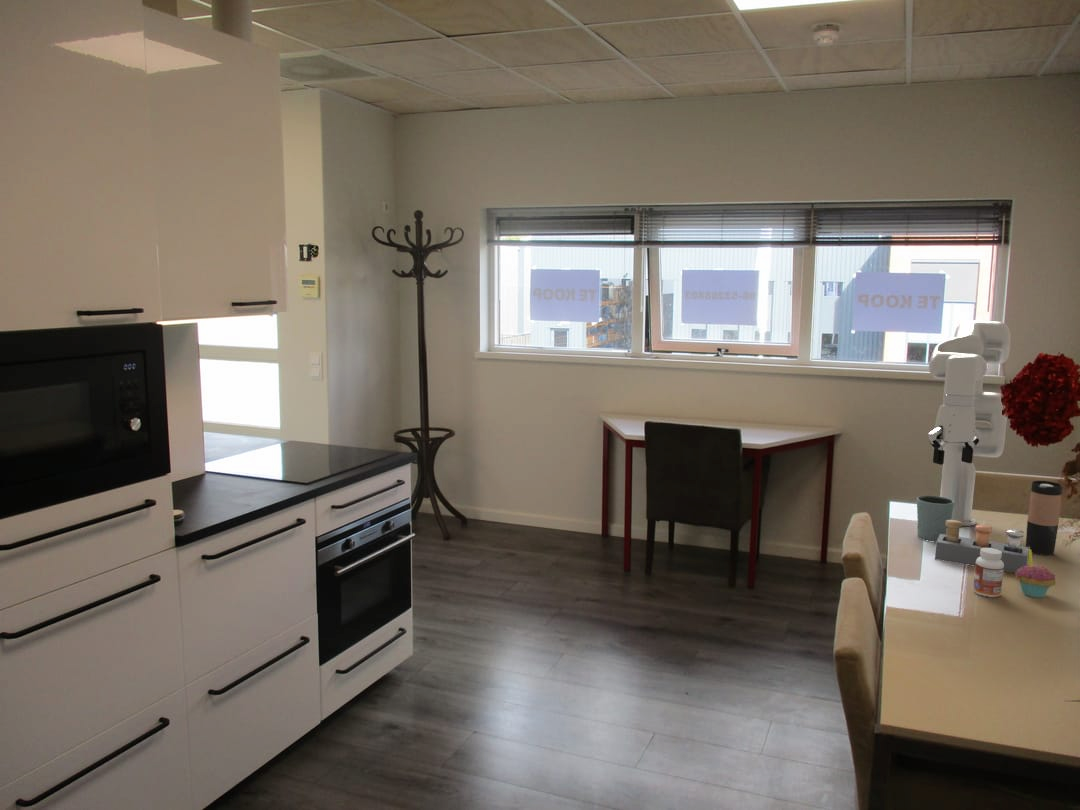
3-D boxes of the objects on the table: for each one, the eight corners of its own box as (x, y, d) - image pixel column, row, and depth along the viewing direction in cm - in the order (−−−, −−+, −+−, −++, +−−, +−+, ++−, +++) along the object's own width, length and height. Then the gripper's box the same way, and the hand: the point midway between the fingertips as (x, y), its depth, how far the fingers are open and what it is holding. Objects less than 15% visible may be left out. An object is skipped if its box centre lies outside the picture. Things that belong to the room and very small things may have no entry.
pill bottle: (972, 587, 213) (977, 545, 211) (1000, 591, 210) (1004, 549, 208) (972, 595, 207) (977, 552, 206) (1001, 599, 204) (1005, 556, 203)
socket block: (938, 550, 241) (939, 533, 240) (1026, 564, 230) (1028, 547, 229) (934, 559, 233) (936, 541, 233) (1025, 574, 222) (1027, 556, 222)
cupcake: (1014, 596, 207) (1019, 549, 205) (1013, 585, 214) (1018, 540, 212) (1054, 603, 203) (1060, 555, 201) (1052, 591, 210) (1057, 545, 209)
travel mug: (1046, 547, 245) (1054, 481, 242) (1060, 556, 238) (1068, 487, 235) (1019, 546, 246) (1026, 480, 243) (1031, 554, 239) (1039, 486, 236)
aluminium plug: (1004, 549, 230) (1006, 528, 229) (1021, 551, 228) (1023, 530, 227) (1004, 553, 227) (1006, 531, 226) (1021, 555, 225) (1023, 534, 224)
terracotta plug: (974, 544, 234) (976, 523, 233) (990, 546, 232) (992, 525, 231) (973, 548, 230) (975, 526, 229) (989, 550, 228) (991, 529, 227)
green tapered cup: (956, 543, 248) (960, 504, 246) (922, 542, 248) (925, 503, 246) (941, 533, 258) (944, 495, 256) (908, 532, 258) (911, 494, 256)
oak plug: (944, 539, 238) (946, 519, 237) (960, 542, 236) (962, 521, 235) (943, 543, 234) (945, 522, 233) (958, 545, 232) (961, 524, 231)
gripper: (972, 398, 233) (966, 459, 235) (922, 399, 228) (916, 461, 230) (994, 402, 226) (988, 464, 228) (943, 403, 221) (937, 467, 223)
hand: (952, 463), depth 229 cm, fingers open, 9 cm apart
